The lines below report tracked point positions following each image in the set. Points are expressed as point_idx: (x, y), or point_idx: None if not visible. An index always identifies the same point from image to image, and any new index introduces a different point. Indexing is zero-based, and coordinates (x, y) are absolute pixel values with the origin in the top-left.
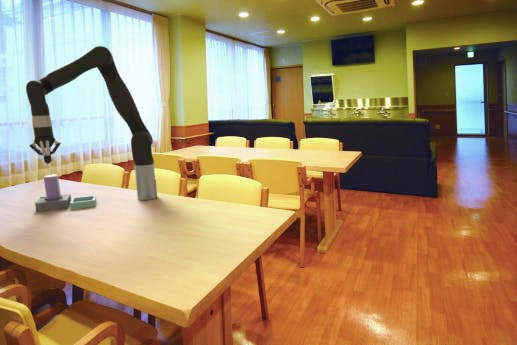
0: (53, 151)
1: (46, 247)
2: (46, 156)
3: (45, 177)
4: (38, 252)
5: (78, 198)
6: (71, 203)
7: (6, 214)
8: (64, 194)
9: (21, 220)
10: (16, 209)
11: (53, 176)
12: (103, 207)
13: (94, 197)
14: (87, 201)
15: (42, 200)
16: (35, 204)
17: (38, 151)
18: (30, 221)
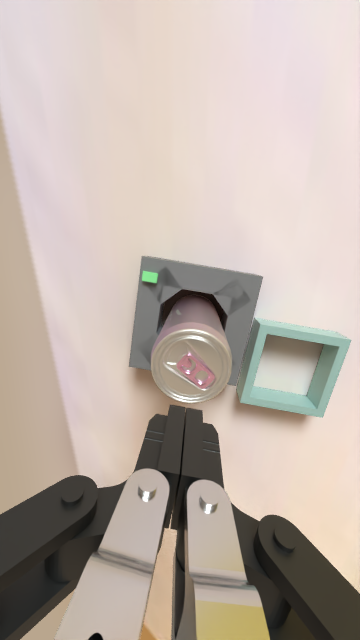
0: (279, 631)
1: (167, 610)
2: (166, 520)
3: (160, 386)
4: (156, 621)
5: (280, 335)
6: (244, 401)
7: (51, 322)
8: (238, 273)
9: (105, 419)
10: (69, 268)
11: (205, 400)
12: (329, 430)
13: (334, 375)
14: (297, 412)
15: (151, 333)
16: (131, 364)
17: (31, 611)
18: (128, 443)
